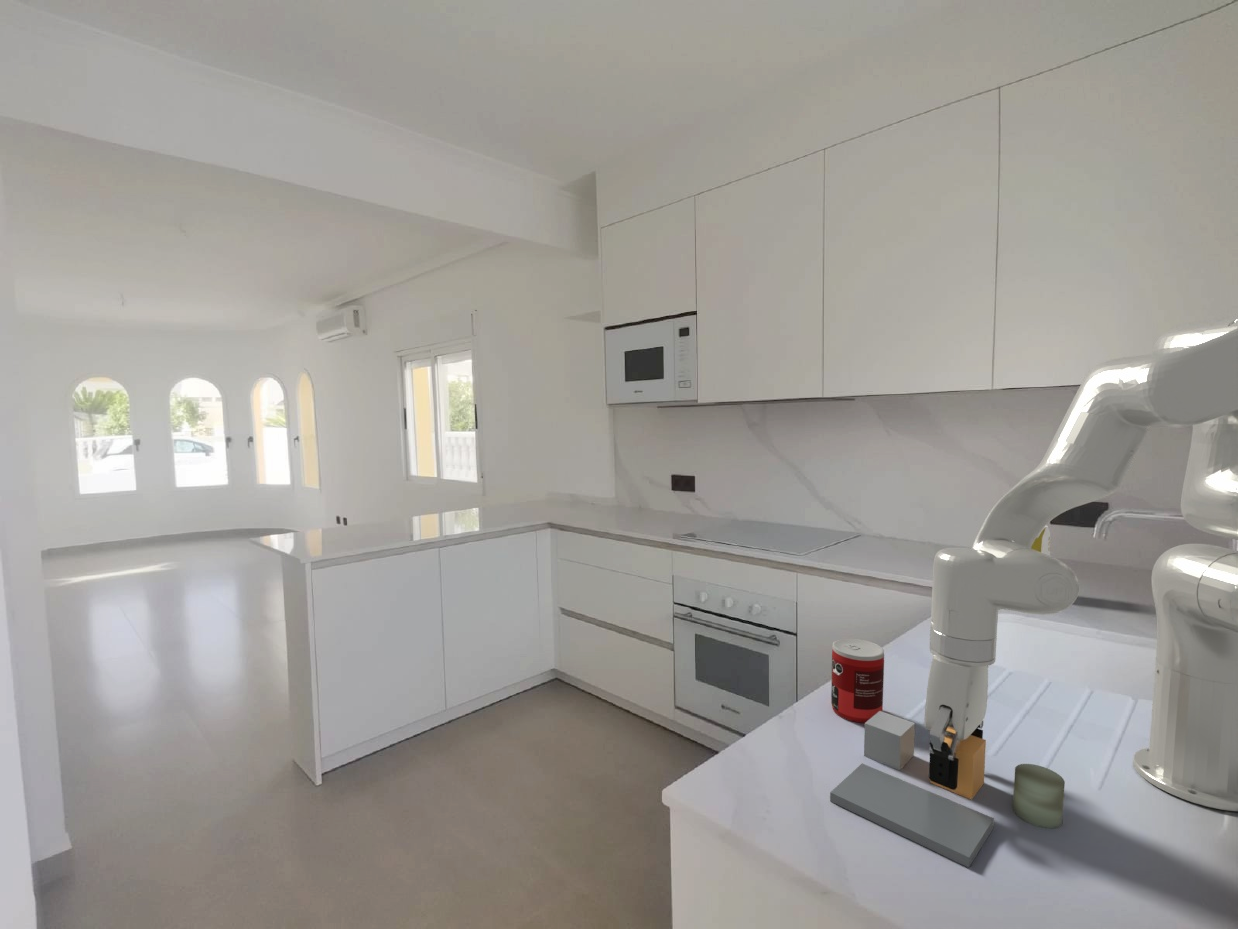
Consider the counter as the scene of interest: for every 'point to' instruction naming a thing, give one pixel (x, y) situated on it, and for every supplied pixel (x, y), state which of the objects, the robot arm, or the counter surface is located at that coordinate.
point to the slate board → (914, 813)
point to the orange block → (968, 765)
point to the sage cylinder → (1038, 795)
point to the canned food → (857, 679)
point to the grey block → (889, 740)
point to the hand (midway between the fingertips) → (955, 768)
